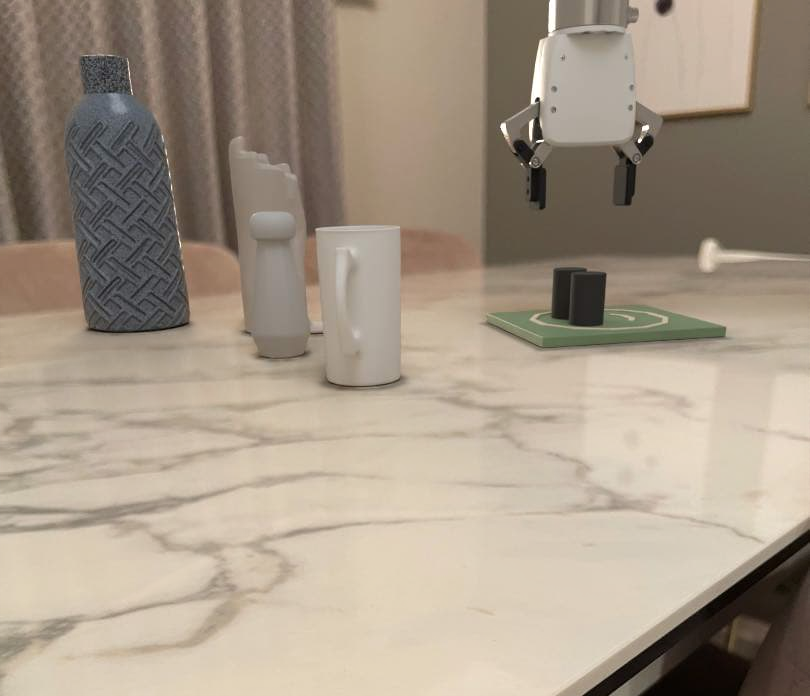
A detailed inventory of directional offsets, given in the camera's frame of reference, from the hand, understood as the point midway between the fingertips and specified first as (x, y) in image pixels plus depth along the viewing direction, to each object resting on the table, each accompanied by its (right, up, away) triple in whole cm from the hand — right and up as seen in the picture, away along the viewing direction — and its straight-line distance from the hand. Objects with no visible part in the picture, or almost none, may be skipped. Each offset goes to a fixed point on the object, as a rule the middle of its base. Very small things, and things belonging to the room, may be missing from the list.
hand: (579, 207), depth 90 cm
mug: (-22, -23, -20) cm, 37 cm away
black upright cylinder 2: (+1, -12, 0) cm, 12 cm away
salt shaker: (-31, -17, -7) cm, 36 cm away
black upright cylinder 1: (0, -11, +5) cm, 11 cm away
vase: (-51, -10, +12) cm, 53 cm away
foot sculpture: (-30, -11, +7) cm, 33 cm away
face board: (+3, -12, +3) cm, 13 cm away
